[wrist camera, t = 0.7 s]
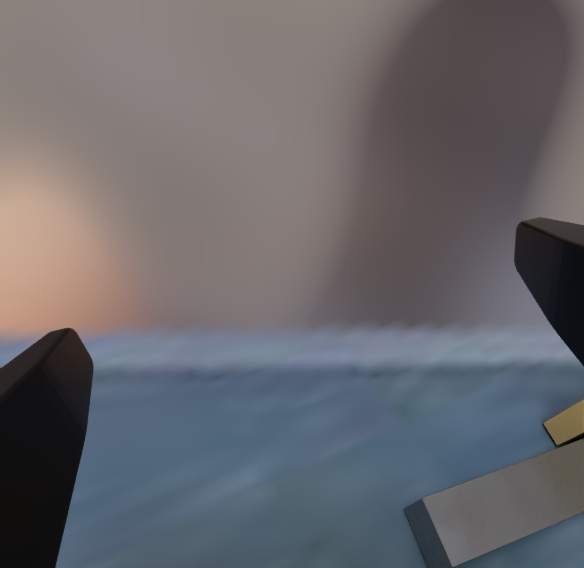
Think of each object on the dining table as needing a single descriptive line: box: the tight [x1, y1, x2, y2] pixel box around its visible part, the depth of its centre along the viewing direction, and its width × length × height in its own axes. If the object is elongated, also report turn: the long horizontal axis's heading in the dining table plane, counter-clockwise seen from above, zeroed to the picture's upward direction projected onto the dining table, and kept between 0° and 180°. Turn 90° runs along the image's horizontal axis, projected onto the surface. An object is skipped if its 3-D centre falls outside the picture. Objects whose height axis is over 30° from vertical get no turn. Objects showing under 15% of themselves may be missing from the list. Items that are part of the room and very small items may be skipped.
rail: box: [404, 439, 584, 568], centre depth 25 cm, size 3×16×3 cm, turn 108°
